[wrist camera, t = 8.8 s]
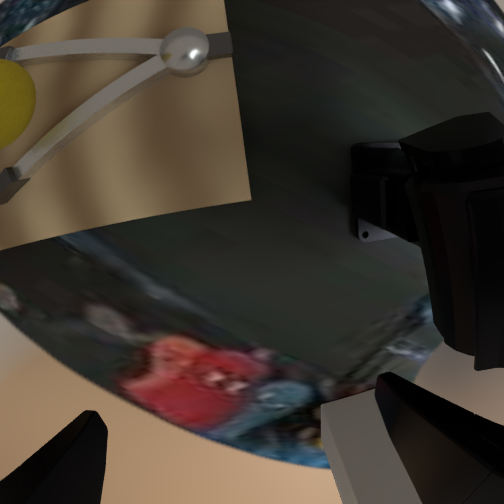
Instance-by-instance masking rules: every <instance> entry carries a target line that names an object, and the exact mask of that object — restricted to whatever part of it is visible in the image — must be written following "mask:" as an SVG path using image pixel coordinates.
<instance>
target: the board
mask: <svg viewBox="0 0 504 504" xmlns="http://www.w3.org/2000/svg"><path fill="white" fill-rule="evenodd" d="M184 27H191V28H196V29H198V30H200V31H202V32H203V33H204V34H205V35H206V34H213V33H221V32H228V26H227V19H226V12H225V5H224V0H90V1H87V2H85V3H82V4H80V5H77V6H75V7H73V8H70V9H68V10H66V11H64V12H62V13H60V14H57V15H55V16H53V17H51V18H49V19H47V20H45V21H43V22H42V23H40V24H38V25H36V26H34V27H32V28H31V29H29V30H27V31H25V32H24V33H22V34H20V35H19V36H17V37H15V38H14V39H12V40H10V41H9V42H7V43H6V44H4V45H3V46H1V47H5V46H12V47H14V48H20V47H25V46H30V45H36V44H43V43H50V42H58V41H67V40H78V39H93V38H151V39H164V38H165V37H166V36H167V35H168V34H169V33H170V32H172V31H174V30H176V29H179V28H184ZM1 47H0V48H1ZM144 62H146V61H126V60H83V61H64V62H51V63H41V64H33V65H25V66H22V67H23V68H24V69H25V70H26V71H27V72H28V73H29V74H30V76H31V78H32V80H33V82H34V85H35V89H36V105H35V110H34V113H33V116H32V119H31V121H30V122H29V124H28V126H27V128H26V129H25V130H24V132H23V133H22V134H21V135H20V136H19V137H18V138H17V139H16V140H15V141H14V142H13V143H11V144H10V145H8V146H6V147H4V148H2V149H0V173H1V172H2V171H3V170H4V169H5V168H6V167H13V166H14V165H15V164H16V163H17V162H18V161H19V160H20V159H21V158H22V157H23V156H24V155H25V154H26V153H27V152H28V151H29V150H30V149H31V148H32V147H33V146H34V145H35V144H36V143H37V142H38V141H39V140H40V139H42V138H43V137H44V136H45V135H46V134H47V133H48V132H49V131H50V130H51V129H53V128H54V127H55V126H56V125H57V124H58V123H60V122H61V121H62V120H63V119H64V118H66V117H67V116H68V115H69V114H70V113H72V112H73V111H74V110H75V109H77V108H78V107H79V106H80V105H82V104H83V103H84V102H86V101H87V100H88V99H90V98H91V97H92V96H94V95H95V94H97V93H98V92H99V91H101V90H102V89H104V88H105V87H106V86H108V85H109V84H111V83H112V82H114V81H115V80H117V79H118V78H120V77H121V76H123V75H124V74H126V73H128V72H129V71H131V70H132V69H134V68H136V67H137V66H139V65H141V64H142V63H144ZM248 200H251V194H250V186H249V179H248V171H247V164H246V156H245V149H244V141H243V134H242V127H241V119H240V112H239V105H238V98H237V90H236V83H235V76H234V69H233V62H232V57H229V58H221V59H213V60H210V61H209V64H208V66H207V67H206V68H205V70H204V71H202V72H201V73H200V74H198V75H196V76H193V77H188V78H183V77H178V76H175V75H174V74H172V75H170V76H168V77H167V78H165V79H163V80H161V81H159V82H158V83H156V84H154V85H153V86H151V87H149V88H147V89H146V90H144V91H143V92H141V93H139V94H138V95H136V96H135V97H133V98H131V99H130V100H128V101H127V102H125V103H124V104H122V105H121V106H119V107H118V108H116V109H115V110H113V111H112V112H110V113H109V114H108V115H106V116H105V117H103V118H102V119H101V120H99V121H98V122H96V123H95V124H94V125H92V126H91V127H90V128H88V129H87V130H86V131H84V132H83V133H82V134H81V135H79V136H78V137H77V138H76V139H74V140H73V141H72V142H71V143H69V144H68V145H67V146H66V147H65V148H63V149H62V150H61V151H60V152H59V153H58V154H56V155H55V156H54V157H53V158H52V159H51V160H50V161H48V162H47V163H46V164H45V165H44V166H43V167H42V168H41V169H40V170H39V171H38V172H36V173H35V174H34V175H33V176H32V177H31V179H30V180H29V181H28V182H27V183H26V184H25V185H24V186H23V187H22V188H21V189H20V190H19V191H18V192H17V193H16V194H15V195H14V196H13V197H12V198H11V199H10V200H9V201H8V203H6V204H2V205H0V250H3V249H7V248H11V247H15V246H19V245H22V244H26V243H30V242H34V241H38V240H42V239H46V238H51V237H55V236H59V235H63V234H68V233H72V232H77V231H81V230H86V229H90V228H95V227H100V226H104V225H109V224H114V223H119V222H124V221H129V220H134V219H139V218H145V217H150V216H156V215H161V214H167V213H172V212H178V211H184V210H190V209H196V208H202V207H208V206H215V205H221V204H228V203H234V202H241V201H248Z"/></svg>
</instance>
